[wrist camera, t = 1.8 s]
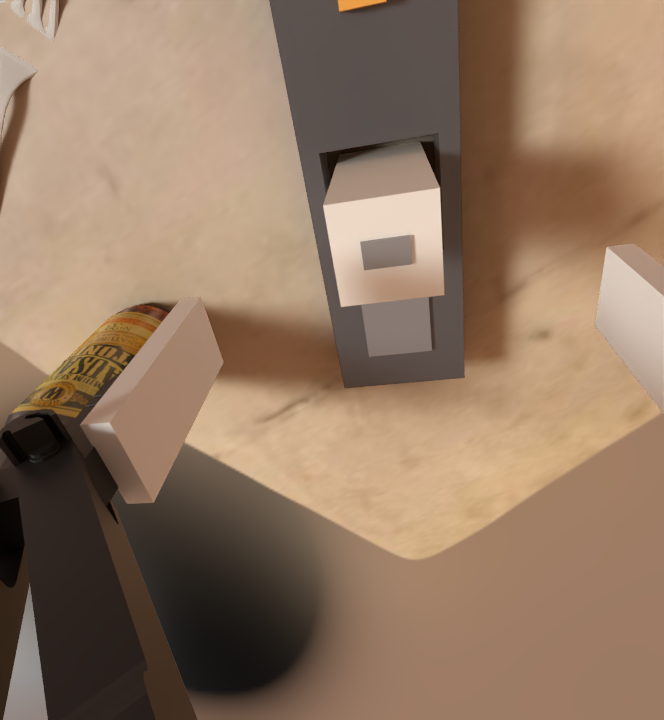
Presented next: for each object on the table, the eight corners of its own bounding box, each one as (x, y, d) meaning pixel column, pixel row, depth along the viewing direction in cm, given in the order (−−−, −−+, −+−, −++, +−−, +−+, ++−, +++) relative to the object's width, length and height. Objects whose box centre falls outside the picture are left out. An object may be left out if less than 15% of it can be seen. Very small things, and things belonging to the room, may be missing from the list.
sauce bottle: (187, 300, 33) (-3, 561, 16) (201, 373, 36) (57, 647, 20) (96, 297, 33) (-177, 548, 17) (119, 369, 37) (-88, 635, 20)
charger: (339, 154, 27) (322, 206, 18) (419, 141, 26) (440, 188, 18) (351, 231, 29) (340, 308, 21) (424, 221, 28) (444, 296, 20)
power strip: (245, -191, 19) (219, -236, 16) (441, -249, 18) (455, -310, 15) (346, 363, 35) (343, 395, 31) (457, 352, 33) (466, 385, 30)
